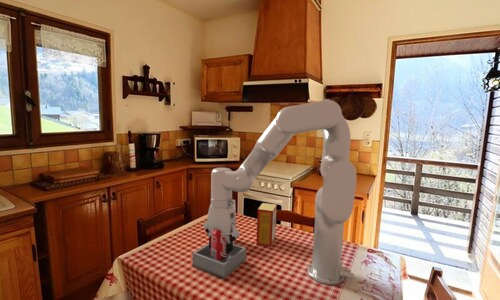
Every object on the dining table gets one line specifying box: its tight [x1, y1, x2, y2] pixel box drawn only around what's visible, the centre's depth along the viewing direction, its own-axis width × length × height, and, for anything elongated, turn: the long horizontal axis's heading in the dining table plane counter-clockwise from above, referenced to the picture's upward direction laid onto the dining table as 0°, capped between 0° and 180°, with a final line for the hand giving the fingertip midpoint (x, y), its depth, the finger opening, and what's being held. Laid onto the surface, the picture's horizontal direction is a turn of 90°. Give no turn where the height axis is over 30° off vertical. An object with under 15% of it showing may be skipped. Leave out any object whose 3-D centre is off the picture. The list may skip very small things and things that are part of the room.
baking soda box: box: [256, 202, 278, 248], centre depth 115 cm, size 10×6×16 cm
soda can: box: [211, 227, 231, 261], centre depth 95 cm, size 7×7×12 cm
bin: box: [191, 243, 247, 280], centre depth 96 cm, size 14×14×5 cm
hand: (220, 249), depth 96 cm, fingers closed on soda can, 7 cm apart
